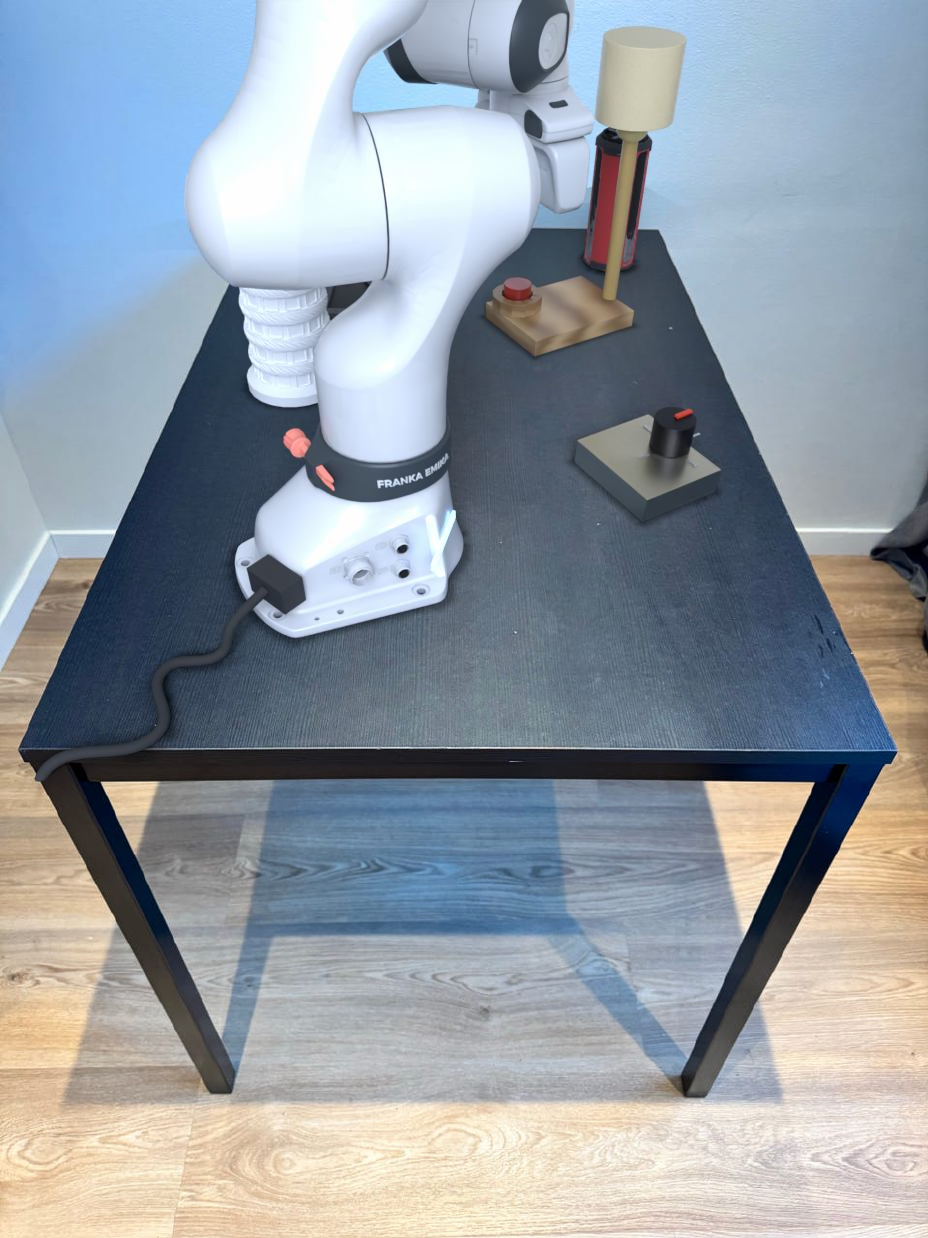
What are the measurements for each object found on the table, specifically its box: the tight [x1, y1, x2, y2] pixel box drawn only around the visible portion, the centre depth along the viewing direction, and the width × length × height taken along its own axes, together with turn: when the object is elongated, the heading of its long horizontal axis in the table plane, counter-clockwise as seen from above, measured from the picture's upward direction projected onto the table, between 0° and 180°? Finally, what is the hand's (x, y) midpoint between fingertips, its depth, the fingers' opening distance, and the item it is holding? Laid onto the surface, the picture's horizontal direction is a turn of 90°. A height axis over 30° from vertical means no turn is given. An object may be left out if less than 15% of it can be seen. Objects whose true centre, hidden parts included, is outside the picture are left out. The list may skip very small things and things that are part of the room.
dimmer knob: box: [649, 406, 698, 458], centre depth 93 cm, size 4×4×4 cm
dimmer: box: [574, 413, 722, 523], centre depth 95 cm, size 12×12×3 cm
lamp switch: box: [503, 276, 532, 301], centre depth 116 cm, size 4×4×2 cm
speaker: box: [582, 127, 653, 272], centre depth 126 cm, size 8×8×18 cm
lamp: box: [593, 25, 688, 300], centre depth 106 cm, size 9×9×30 cm
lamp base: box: [485, 275, 635, 357], centre depth 118 cm, size 16×12×4 cm
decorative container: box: [238, 287, 331, 408], centre depth 102 cm, size 12×12×18 cm
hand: (521, 223), depth 110 cm, fingers closed
